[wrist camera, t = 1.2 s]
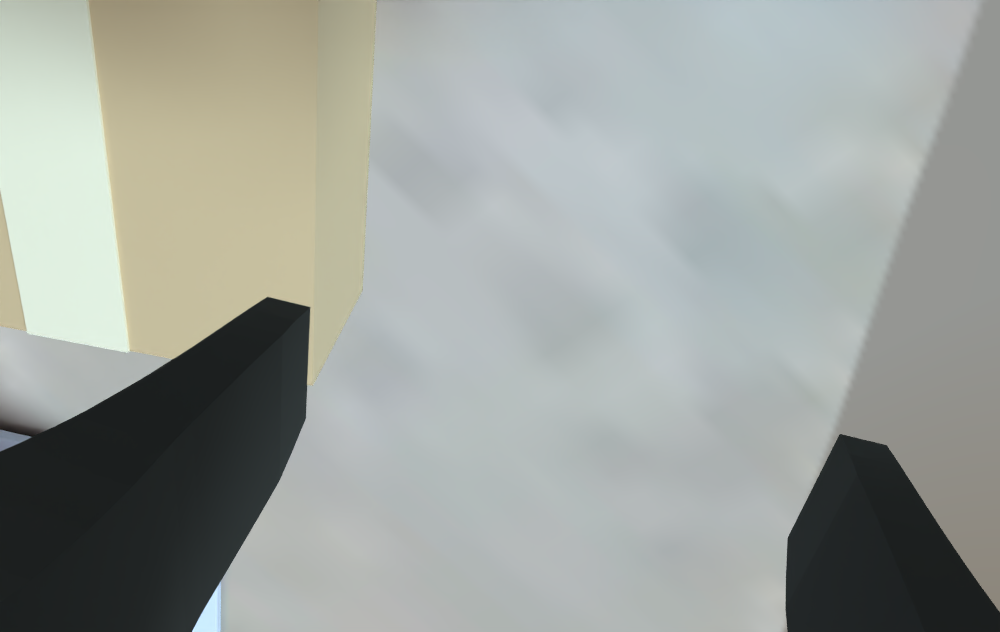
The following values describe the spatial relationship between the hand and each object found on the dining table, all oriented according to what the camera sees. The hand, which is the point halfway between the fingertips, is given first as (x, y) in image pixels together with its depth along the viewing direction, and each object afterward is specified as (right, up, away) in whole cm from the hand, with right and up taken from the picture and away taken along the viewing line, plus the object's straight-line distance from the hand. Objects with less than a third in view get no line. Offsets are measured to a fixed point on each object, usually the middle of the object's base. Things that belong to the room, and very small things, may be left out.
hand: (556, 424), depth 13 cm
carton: (-9, +7, +10) cm, 15 cm away
